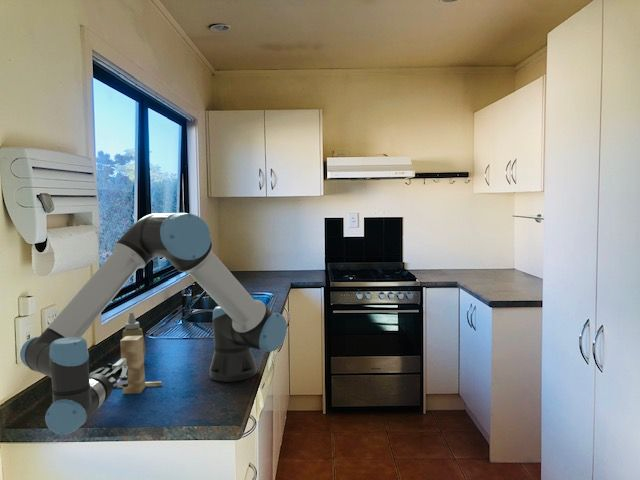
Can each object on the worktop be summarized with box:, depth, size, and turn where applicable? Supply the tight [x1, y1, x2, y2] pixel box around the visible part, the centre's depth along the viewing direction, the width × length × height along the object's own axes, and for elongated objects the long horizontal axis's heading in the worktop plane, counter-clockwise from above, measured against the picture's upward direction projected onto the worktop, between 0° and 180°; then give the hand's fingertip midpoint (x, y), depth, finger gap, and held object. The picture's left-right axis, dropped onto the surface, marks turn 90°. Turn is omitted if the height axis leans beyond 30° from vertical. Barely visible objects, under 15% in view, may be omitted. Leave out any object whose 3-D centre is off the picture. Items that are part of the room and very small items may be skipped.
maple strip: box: [116, 381, 163, 389], centre depth 159 cm, size 14×1×1 cm, turn 92°
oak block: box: [119, 335, 146, 395], centre depth 155 cm, size 5×5×16 cm
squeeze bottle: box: [121, 312, 147, 357], centre depth 182 cm, size 8×8×18 cm
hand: (123, 362), depth 147 cm, fingers closed
